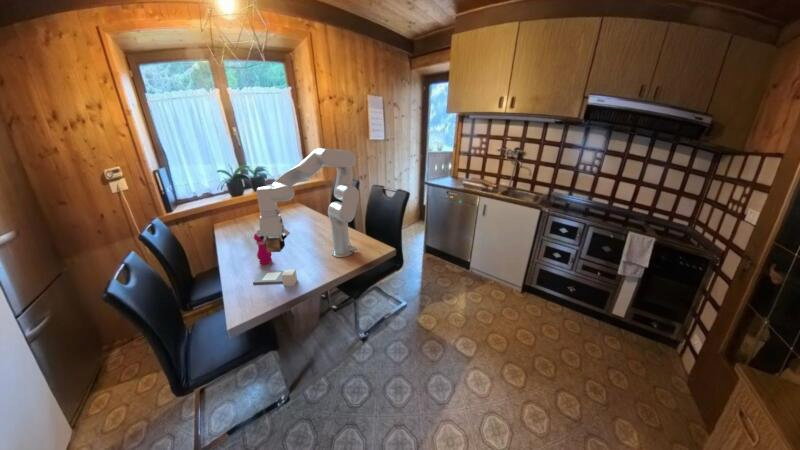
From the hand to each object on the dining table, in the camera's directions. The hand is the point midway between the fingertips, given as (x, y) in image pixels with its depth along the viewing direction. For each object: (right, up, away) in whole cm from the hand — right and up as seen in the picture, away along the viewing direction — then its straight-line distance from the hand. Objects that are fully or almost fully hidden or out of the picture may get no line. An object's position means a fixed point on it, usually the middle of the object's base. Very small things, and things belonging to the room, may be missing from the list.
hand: (275, 247), depth 129 cm
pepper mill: (-15, -10, +20) cm, 27 cm away
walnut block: (0, -1, 0) cm, 1 cm away
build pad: (-4, -16, +5) cm, 17 cm away
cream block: (+7, -18, +1) cm, 19 cm away
